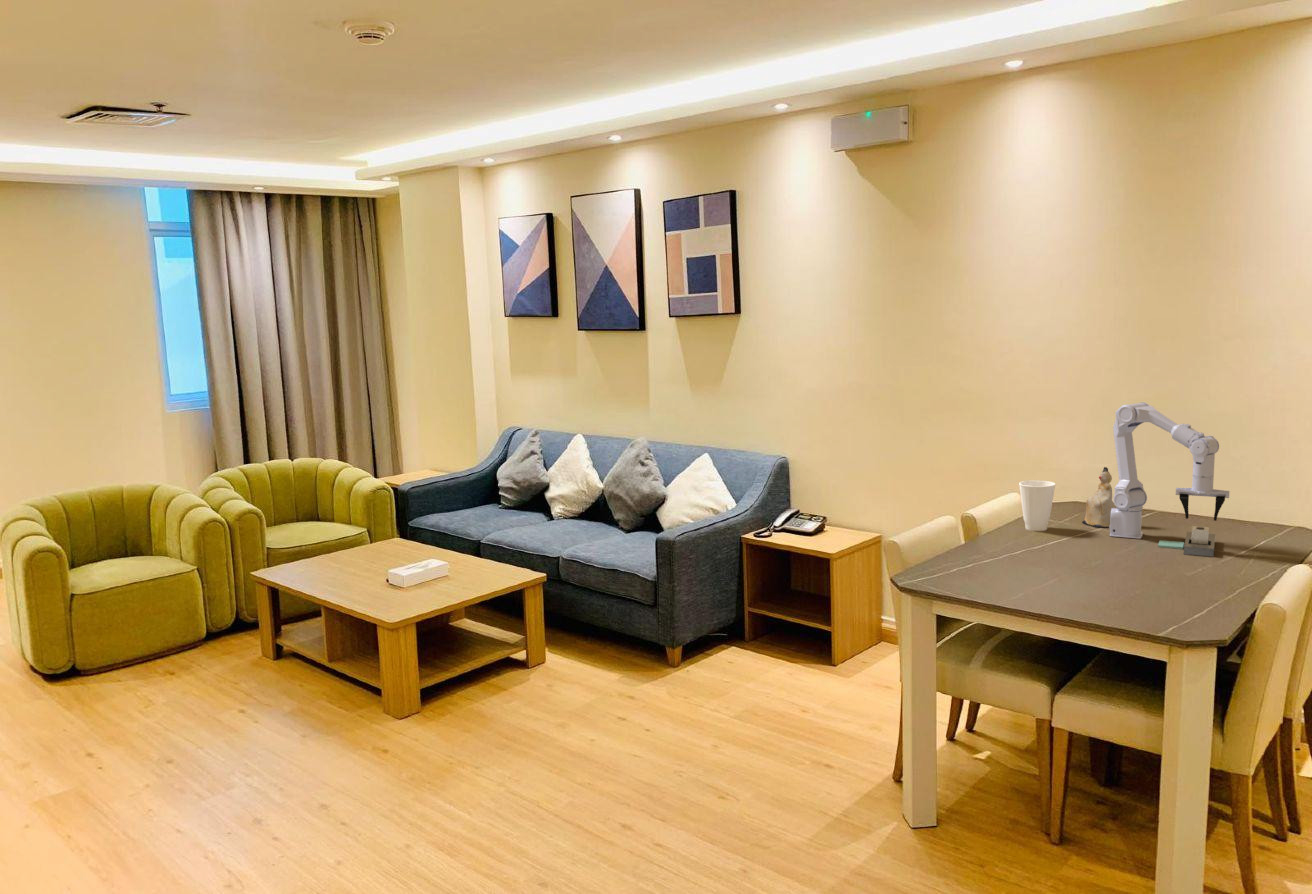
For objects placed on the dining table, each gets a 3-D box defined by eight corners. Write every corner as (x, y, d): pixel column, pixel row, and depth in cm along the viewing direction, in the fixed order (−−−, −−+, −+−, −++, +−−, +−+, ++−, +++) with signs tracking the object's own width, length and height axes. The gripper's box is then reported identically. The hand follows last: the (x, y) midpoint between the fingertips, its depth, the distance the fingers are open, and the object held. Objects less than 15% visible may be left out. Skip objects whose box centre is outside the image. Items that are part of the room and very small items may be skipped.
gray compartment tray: (1183, 554, 307) (1184, 546, 307) (1186, 539, 325) (1187, 531, 324) (1213, 556, 303) (1213, 548, 303) (1215, 541, 321) (1215, 533, 320)
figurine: (1076, 522, 353) (1078, 466, 350) (1101, 519, 356) (1103, 464, 353) (1100, 529, 342) (1102, 471, 339) (1125, 526, 345) (1127, 469, 342)
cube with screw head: (1190, 551, 311) (1191, 528, 310) (1191, 547, 315) (1192, 525, 313) (1207, 552, 308) (1208, 529, 307) (1207, 549, 312) (1208, 526, 311)
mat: (1158, 547, 317) (1158, 545, 317) (1159, 541, 323) (1159, 540, 323) (1182, 549, 313) (1183, 547, 313) (1184, 544, 319) (1184, 542, 319)
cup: (1010, 527, 349) (1011, 482, 346) (1035, 523, 354) (1036, 478, 351) (1036, 534, 338) (1037, 487, 336) (1062, 529, 343) (1063, 484, 340)
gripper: (1175, 476, 308) (1174, 519, 310) (1230, 479, 301) (1227, 523, 303) (1177, 472, 314) (1175, 515, 316) (1230, 475, 307) (1228, 518, 309)
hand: (1201, 519), depth 310 cm, fingers open, 7 cm apart
